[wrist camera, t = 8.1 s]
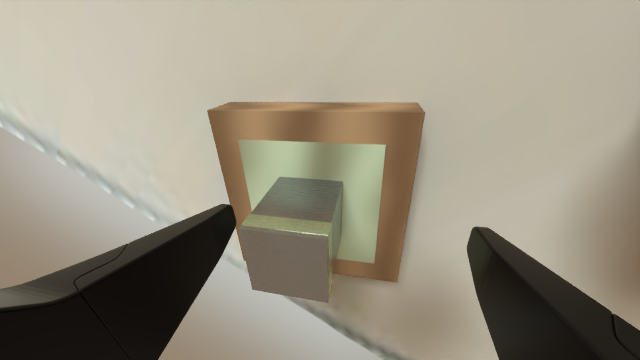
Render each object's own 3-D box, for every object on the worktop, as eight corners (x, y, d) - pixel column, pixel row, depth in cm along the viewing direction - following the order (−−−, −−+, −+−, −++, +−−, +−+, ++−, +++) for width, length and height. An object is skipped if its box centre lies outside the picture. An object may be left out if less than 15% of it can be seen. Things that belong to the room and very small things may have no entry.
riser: (417, 102, 16) (425, 113, 14) (395, 256, 23) (397, 284, 20) (230, 102, 19) (205, 110, 16) (257, 239, 26) (242, 261, 23)
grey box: (342, 181, 17) (327, 239, 12) (341, 233, 19) (328, 302, 14) (279, 176, 18) (237, 228, 12) (285, 227, 20) (252, 289, 15)
